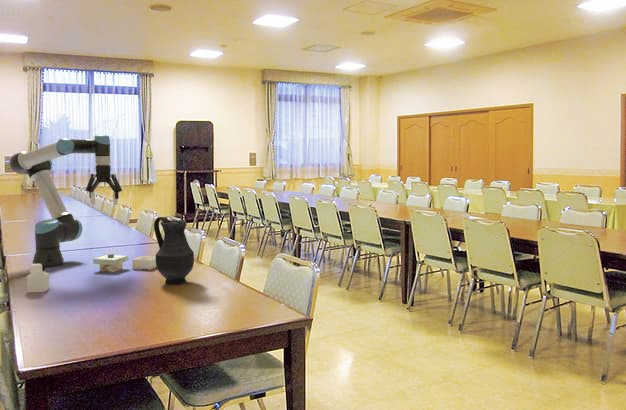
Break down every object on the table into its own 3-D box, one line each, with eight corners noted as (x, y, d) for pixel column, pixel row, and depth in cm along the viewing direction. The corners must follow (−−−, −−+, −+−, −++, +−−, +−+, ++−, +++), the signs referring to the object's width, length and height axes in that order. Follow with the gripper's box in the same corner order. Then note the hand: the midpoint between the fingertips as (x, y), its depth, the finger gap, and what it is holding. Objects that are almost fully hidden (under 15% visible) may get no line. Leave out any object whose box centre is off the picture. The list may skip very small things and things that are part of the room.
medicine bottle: (33, 288, 254) (32, 261, 253) (50, 288, 255) (48, 261, 254) (26, 292, 247) (25, 265, 246) (43, 292, 248) (42, 264, 247)
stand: (99, 270, 292) (99, 263, 292) (109, 267, 300) (108, 260, 300) (113, 271, 290) (113, 263, 290) (122, 268, 298) (122, 261, 298)
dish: (132, 268, 298) (132, 259, 297) (142, 265, 307) (142, 255, 307) (149, 270, 295) (149, 260, 295) (159, 266, 305) (159, 256, 304)
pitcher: (175, 288, 256) (173, 220, 253) (142, 282, 267) (140, 217, 264) (202, 281, 270) (201, 217, 267) (170, 276, 281) (169, 214, 278)
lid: (93, 263, 291) (93, 255, 290) (107, 259, 302) (107, 252, 302) (114, 264, 287) (114, 257, 287) (128, 260, 299) (127, 253, 299)
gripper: (77, 164, 305) (79, 204, 307) (119, 165, 299) (120, 206, 301) (86, 164, 313) (88, 203, 315) (128, 164, 306) (129, 204, 308)
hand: (104, 204), depth 308 cm, fingers open, 13 cm apart
